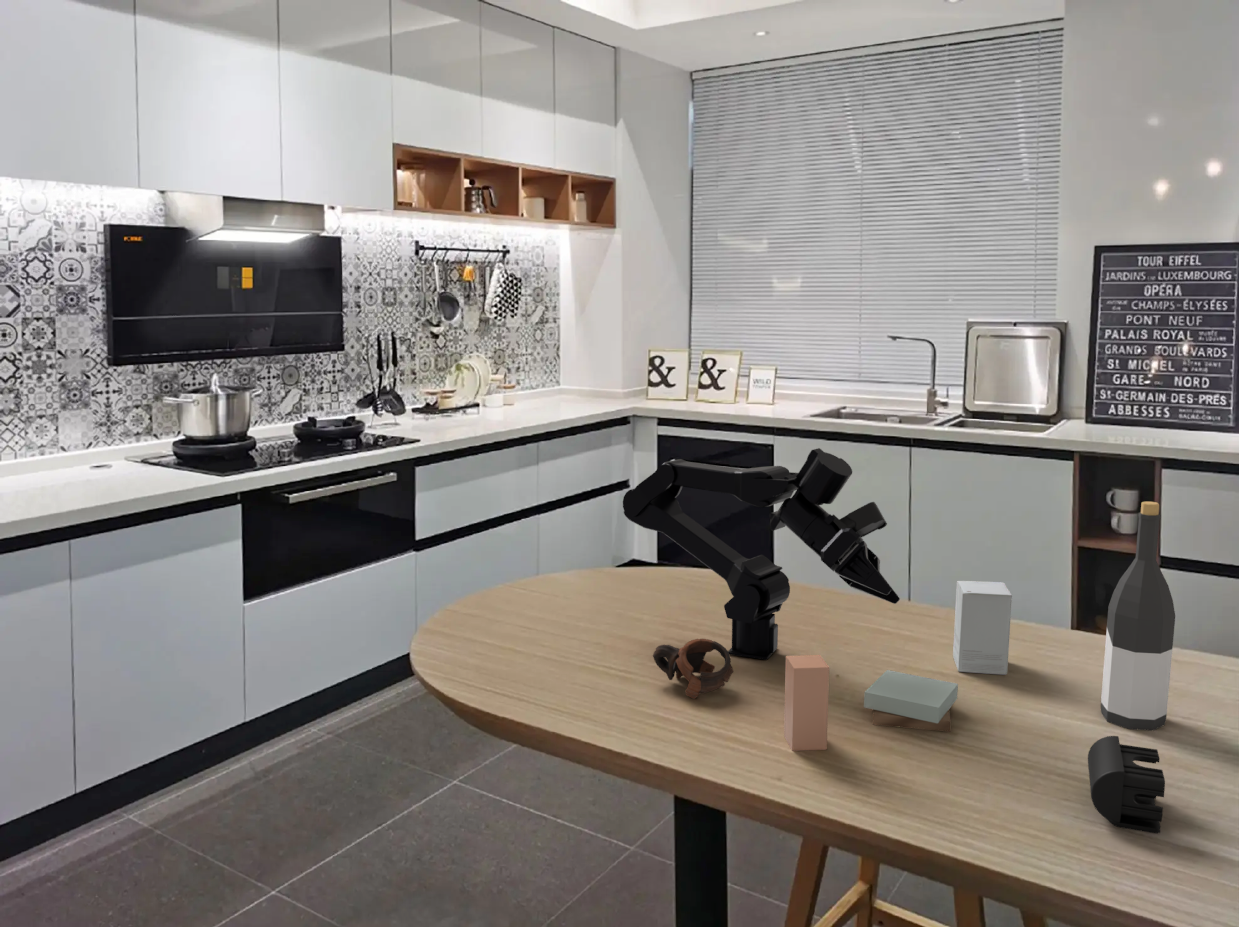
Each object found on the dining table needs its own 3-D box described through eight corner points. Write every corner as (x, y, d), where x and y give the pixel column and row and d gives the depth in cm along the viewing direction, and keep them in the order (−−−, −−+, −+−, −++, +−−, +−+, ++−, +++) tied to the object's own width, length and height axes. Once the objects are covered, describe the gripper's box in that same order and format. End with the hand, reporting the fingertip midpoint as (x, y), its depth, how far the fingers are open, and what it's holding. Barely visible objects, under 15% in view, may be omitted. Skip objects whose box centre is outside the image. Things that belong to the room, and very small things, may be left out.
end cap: (1085, 785, 125) (1089, 731, 124) (1152, 795, 122) (1156, 740, 121) (1088, 825, 116) (1093, 767, 115) (1160, 837, 113) (1166, 778, 112)
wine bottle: (1162, 736, 138) (1182, 511, 133) (1095, 722, 142) (1112, 505, 137) (1168, 714, 145) (1187, 500, 140) (1104, 702, 149) (1120, 494, 144)
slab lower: (872, 729, 142) (872, 714, 142) (872, 700, 152) (873, 686, 151) (949, 736, 140) (950, 720, 139) (945, 707, 149) (946, 692, 149)
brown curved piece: (731, 678, 160) (742, 642, 155) (717, 726, 153) (728, 690, 148) (655, 653, 162) (664, 617, 157) (638, 700, 155) (647, 663, 150)
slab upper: (863, 707, 144) (864, 692, 143) (886, 684, 152) (887, 669, 152) (937, 723, 138) (938, 707, 138) (957, 698, 147) (958, 683, 147)
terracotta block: (783, 735, 139) (785, 655, 137) (817, 734, 139) (819, 654, 137) (791, 750, 134) (793, 668, 132) (826, 749, 135) (829, 667, 133)
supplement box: (1008, 675, 159) (1013, 595, 157) (957, 672, 161) (961, 592, 159) (1000, 658, 166) (1005, 581, 164) (952, 655, 168) (955, 579, 166)
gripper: (840, 472, 151) (925, 544, 144) (861, 501, 167) (938, 567, 160) (787, 529, 151) (869, 603, 144) (813, 553, 168) (888, 620, 161)
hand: (893, 597), depth 152 cm, fingers open, 9 cm apart
